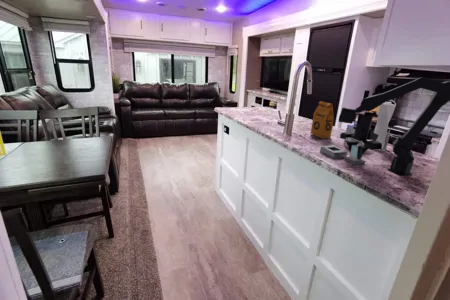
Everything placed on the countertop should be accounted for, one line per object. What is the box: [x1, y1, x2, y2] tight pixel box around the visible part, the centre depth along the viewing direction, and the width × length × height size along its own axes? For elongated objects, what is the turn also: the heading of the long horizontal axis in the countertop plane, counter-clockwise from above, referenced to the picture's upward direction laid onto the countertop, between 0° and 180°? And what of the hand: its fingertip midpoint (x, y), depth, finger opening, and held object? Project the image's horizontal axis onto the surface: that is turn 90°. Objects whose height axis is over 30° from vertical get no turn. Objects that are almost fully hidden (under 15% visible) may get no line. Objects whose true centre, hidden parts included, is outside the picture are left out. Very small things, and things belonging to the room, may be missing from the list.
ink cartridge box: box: [343, 120, 362, 148], centre depth 133 cm, size 10×6×14 cm, turn 72°
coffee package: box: [310, 100, 335, 139], centre depth 149 cm, size 10×12×22 cm
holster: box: [343, 156, 366, 166], centre depth 111 cm, size 6×6×2 cm
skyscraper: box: [370, 99, 397, 152], centre depth 128 cm, size 8×8×28 cm
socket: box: [319, 144, 348, 159], centre depth 120 cm, size 10×8×3 cm
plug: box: [348, 145, 363, 161], centre depth 110 cm, size 4×4×8 cm
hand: (355, 157), depth 111 cm, fingers closed on plug, 3 cm apart
